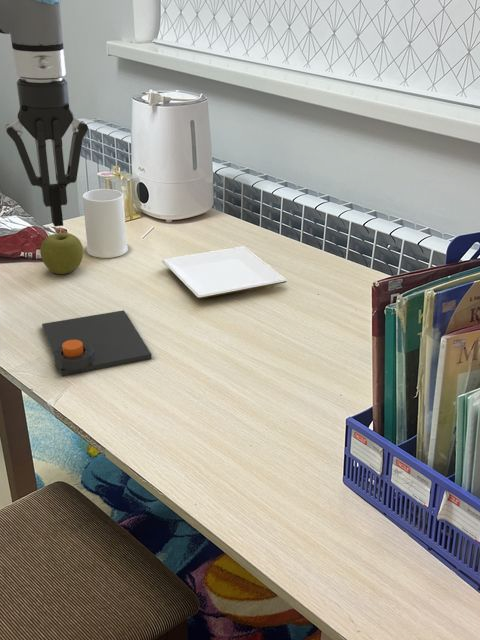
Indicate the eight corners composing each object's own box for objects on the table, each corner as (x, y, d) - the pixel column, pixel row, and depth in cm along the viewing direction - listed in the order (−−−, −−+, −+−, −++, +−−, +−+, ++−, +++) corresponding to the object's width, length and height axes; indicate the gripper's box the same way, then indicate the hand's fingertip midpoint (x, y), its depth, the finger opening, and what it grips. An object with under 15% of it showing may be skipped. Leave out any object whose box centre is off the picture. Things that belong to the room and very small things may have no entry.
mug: (90, 237, 152) (85, 183, 146) (129, 237, 153) (126, 183, 147) (84, 258, 142) (79, 201, 136) (127, 258, 143) (123, 201, 137)
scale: (39, 328, 116) (37, 315, 114) (124, 314, 121) (123, 301, 120) (59, 378, 103) (57, 364, 102) (152, 360, 109) (151, 346, 107)
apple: (88, 275, 135) (85, 241, 131) (46, 281, 132) (41, 246, 128) (80, 261, 140) (77, 227, 137) (40, 266, 137) (35, 232, 134)
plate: (161, 268, 139) (160, 258, 138) (244, 254, 147) (244, 245, 146) (198, 306, 125) (198, 296, 124) (287, 289, 133) (288, 279, 132)
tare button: (61, 350, 106) (60, 341, 105) (81, 346, 107) (80, 338, 106) (65, 359, 104) (64, 350, 103) (85, 356, 105) (84, 347, 104)
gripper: (-1, 83, 102) (20, 235, 114) (89, 81, 106) (100, 227, 118) (-6, 74, 108) (15, 219, 120) (79, 73, 112) (91, 212, 124)
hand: (57, 223), depth 119 cm, fingers closed
